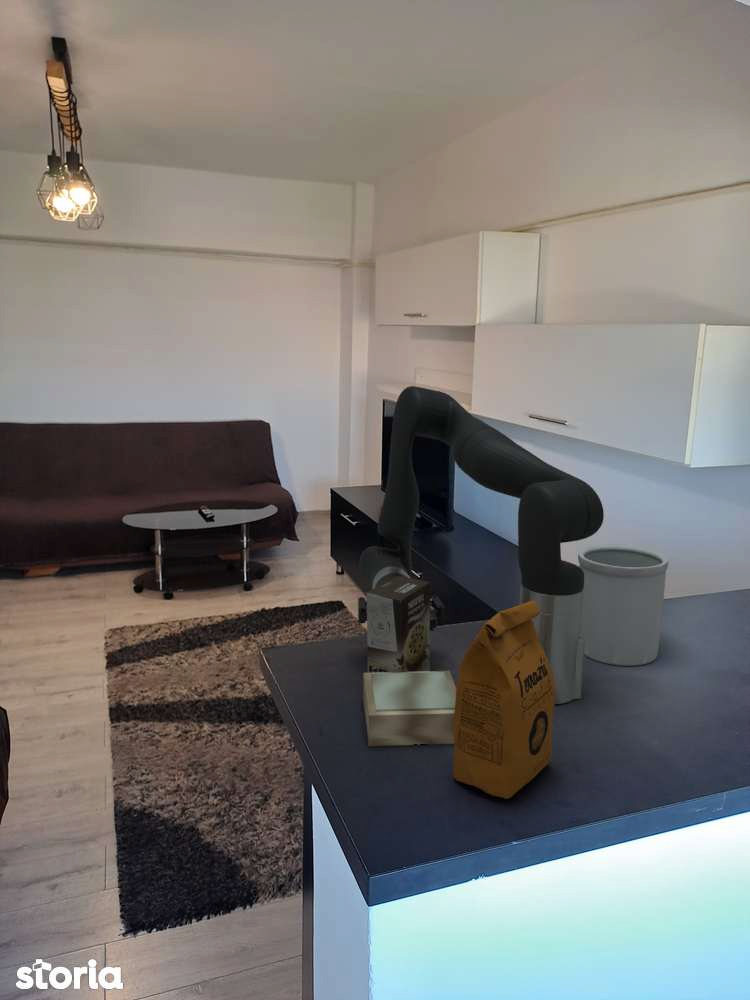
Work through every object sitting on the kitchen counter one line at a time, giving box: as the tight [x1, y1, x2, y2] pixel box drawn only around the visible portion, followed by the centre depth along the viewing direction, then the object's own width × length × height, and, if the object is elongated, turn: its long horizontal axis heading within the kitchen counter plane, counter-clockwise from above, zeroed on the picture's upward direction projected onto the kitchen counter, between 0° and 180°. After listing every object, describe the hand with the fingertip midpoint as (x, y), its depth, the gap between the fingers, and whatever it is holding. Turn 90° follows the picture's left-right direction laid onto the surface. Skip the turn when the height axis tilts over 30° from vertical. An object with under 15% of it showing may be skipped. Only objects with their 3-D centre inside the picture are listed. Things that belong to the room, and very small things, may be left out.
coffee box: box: [366, 576, 431, 673], centre depth 117 cm, size 9×6×16 cm
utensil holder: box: [577, 544, 669, 667], centre depth 131 cm, size 15×15×18 cm
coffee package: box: [452, 601, 556, 800], centre depth 92 cm, size 10×12×22 cm
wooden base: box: [362, 670, 457, 747], centre depth 107 cm, size 13×13×5 cm
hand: (404, 625), depth 118 cm, fingers closed on coffee box, 8 cm apart
